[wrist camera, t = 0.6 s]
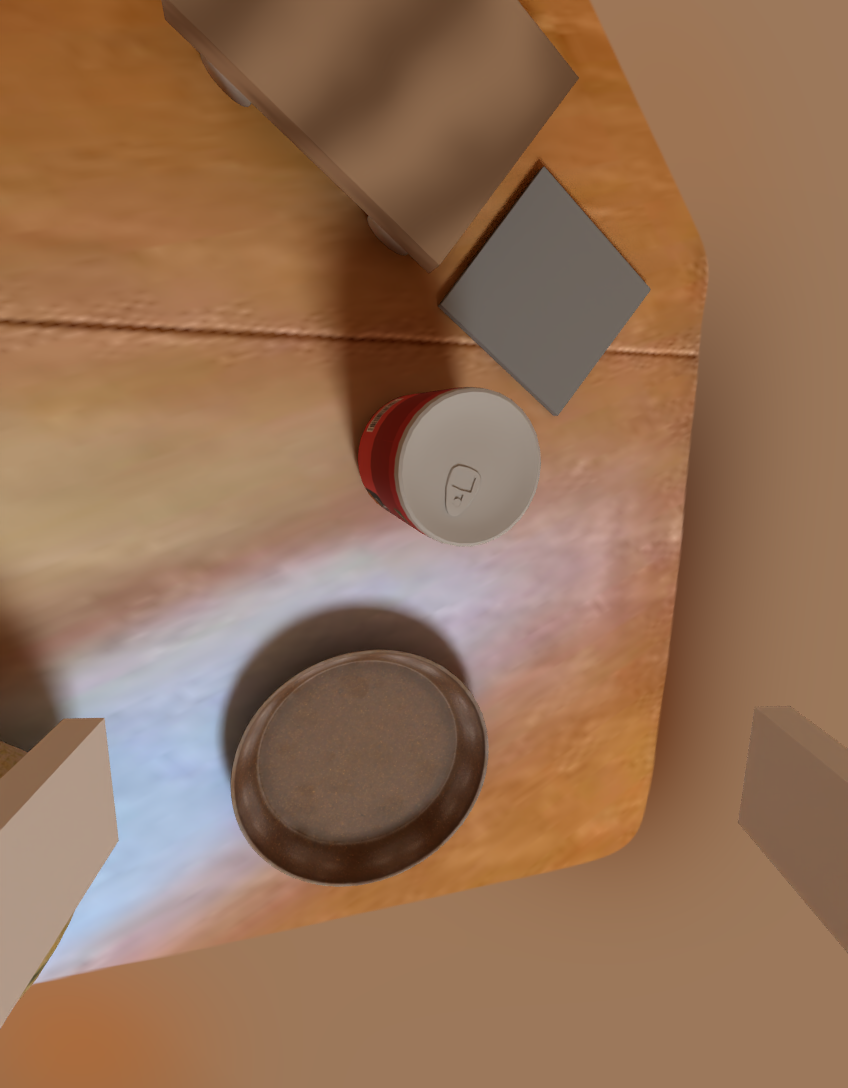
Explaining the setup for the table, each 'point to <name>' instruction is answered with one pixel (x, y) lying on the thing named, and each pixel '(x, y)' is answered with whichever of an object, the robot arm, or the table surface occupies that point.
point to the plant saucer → (359, 767)
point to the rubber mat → (546, 293)
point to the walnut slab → (390, 97)
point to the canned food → (452, 463)
